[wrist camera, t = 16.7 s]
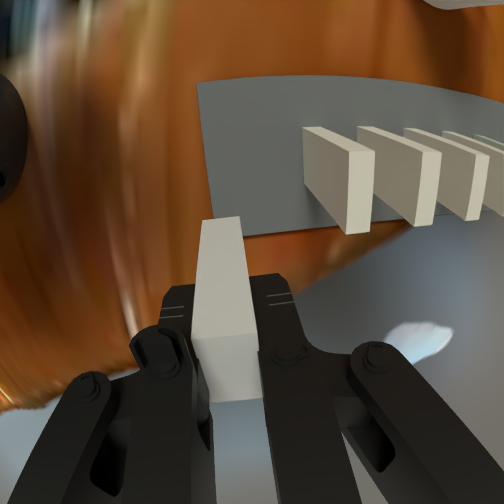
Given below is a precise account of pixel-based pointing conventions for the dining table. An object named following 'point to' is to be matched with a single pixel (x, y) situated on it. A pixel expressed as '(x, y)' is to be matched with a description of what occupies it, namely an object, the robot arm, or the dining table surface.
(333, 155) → the domino
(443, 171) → the domino
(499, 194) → the domino
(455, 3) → the cup
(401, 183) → the domino
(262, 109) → the slate mat
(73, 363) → the dining table surface
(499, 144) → the domino
